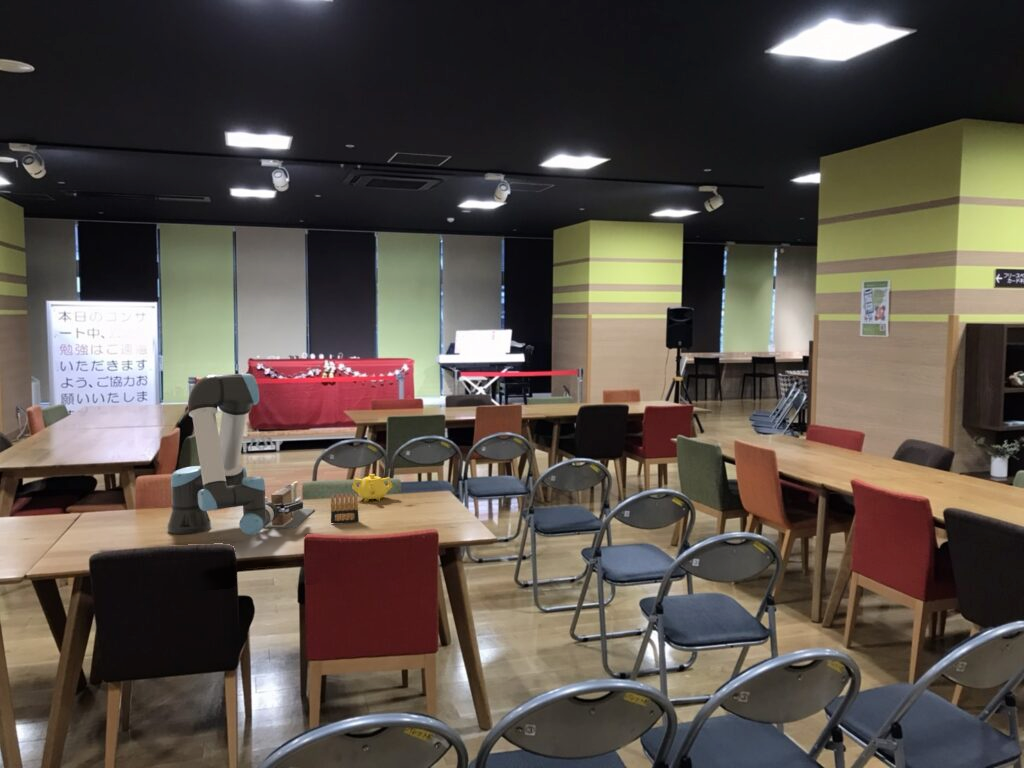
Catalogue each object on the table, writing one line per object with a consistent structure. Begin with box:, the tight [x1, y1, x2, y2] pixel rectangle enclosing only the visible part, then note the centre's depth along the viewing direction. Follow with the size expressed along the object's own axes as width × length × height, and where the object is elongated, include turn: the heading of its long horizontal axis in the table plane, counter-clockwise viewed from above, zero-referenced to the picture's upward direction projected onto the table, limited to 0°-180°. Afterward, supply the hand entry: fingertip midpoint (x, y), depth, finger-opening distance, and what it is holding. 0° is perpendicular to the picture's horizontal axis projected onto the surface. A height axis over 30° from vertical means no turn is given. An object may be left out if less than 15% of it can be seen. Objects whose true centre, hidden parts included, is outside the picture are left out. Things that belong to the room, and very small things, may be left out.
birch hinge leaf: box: [284, 480, 300, 517], centre depth 312 cm, size 12×3×13 cm, turn 178°
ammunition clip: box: [330, 491, 360, 524], centre depth 300 cm, size 11×2×12 cm, turn 107°
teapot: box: [351, 473, 394, 502], centre depth 339 cm, size 20×18×11 cm
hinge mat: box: [263, 508, 316, 529], centre depth 306 cm, size 28×14×1 cm, turn 178°
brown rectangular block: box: [270, 488, 291, 525], centre depth 299 cm, size 4×10×12 cm, turn 178°
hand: (283, 500), depth 301 cm, fingers open, 13 cm apart
